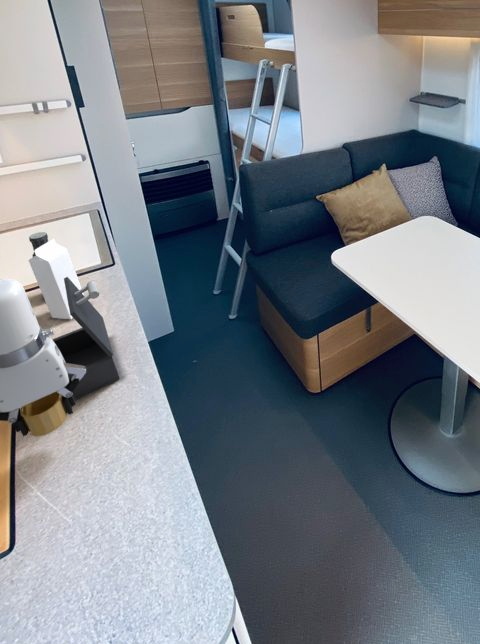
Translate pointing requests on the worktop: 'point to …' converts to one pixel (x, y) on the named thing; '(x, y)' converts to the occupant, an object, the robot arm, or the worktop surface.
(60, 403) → the cup
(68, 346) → the dark grey storage bin
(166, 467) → the worktop surface
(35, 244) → the sauce bottle
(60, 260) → the milk
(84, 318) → the lid
